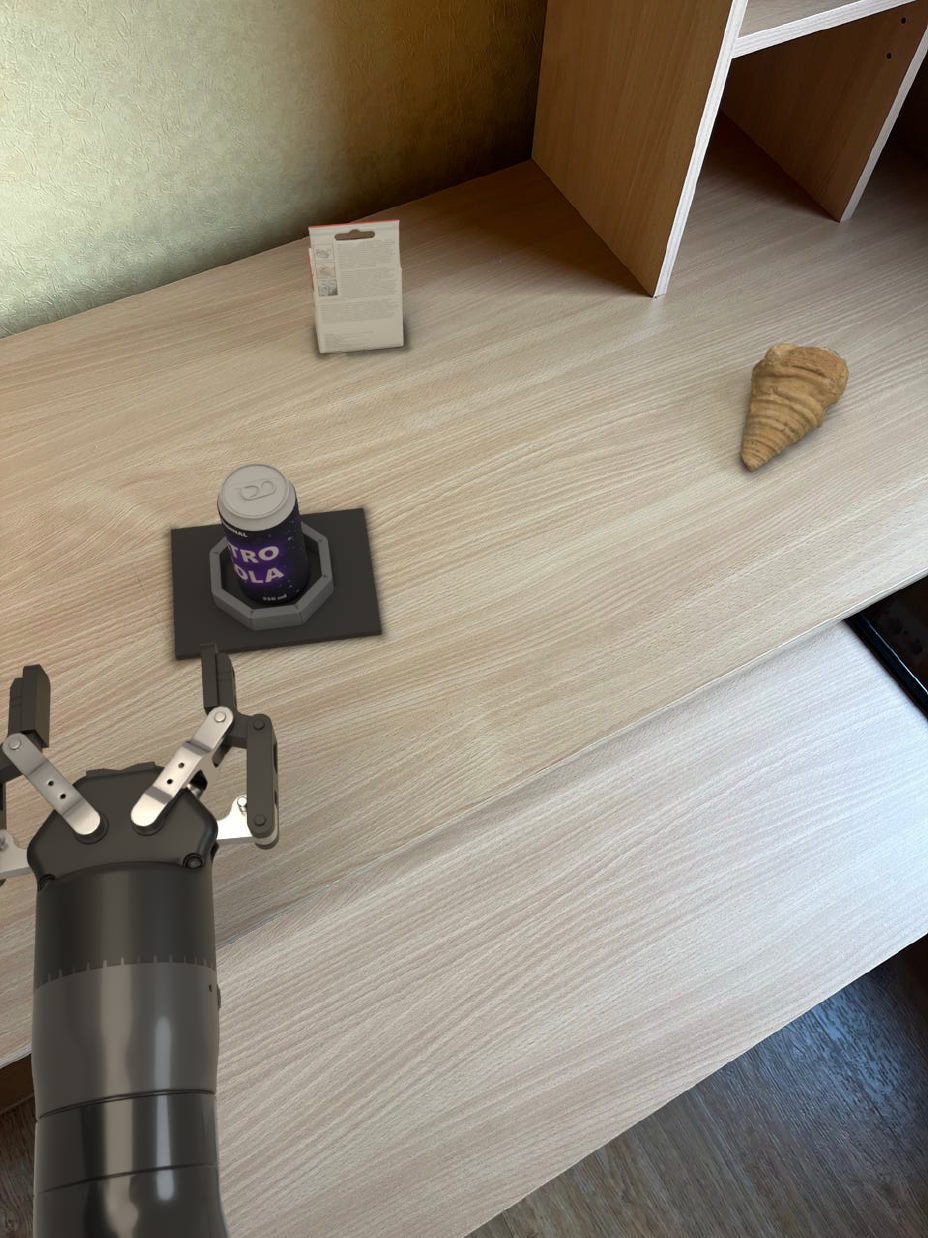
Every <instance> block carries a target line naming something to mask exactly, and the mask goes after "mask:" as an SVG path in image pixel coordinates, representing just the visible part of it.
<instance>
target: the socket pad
mask: <svg viewBox="0 0 928 1238" xmlns="http://www.w3.org/2000/svg"><path fill="white" fill-rule="evenodd" d="M365 516H366V515H365V509H364V507H357V508H347V509H340V510H339V509H337V510H331V511H322V512H313V513H305V514H300V519H301V525H302V531H303V537H304V543H305V549H306V555H307V561H308V568H309V576H308V580H307V583H306V585H305V586H304V588H303V589H302V590H301V591H300V592H299V593H298V594H297V595H296V596H295V597H293V598H291V599H289V600H287V601H284V602H281V603H275V604H267V603H261V602H258V601H255V600H253V599H251V598H249V597H248V596H247V595H246V594H245V593H244V592H243V591H242V590H241V588H240V586H239V583H238V580H237V576H236V573H235V569H234V566H233V562H232V558H231V555H230V551H229V548H228V544H227V541H226V537H225V533H224V530H223V526H222V523H215V524H207V525H206V524H205V525H197V526H189V527H180V528H171V529H170V545H171V546H170V548H171V551H170V552H171V575H172V576H171V578H172V579H171V580H172V603H173V607H172V608H173V626H174V627H173V631H174V656H175V658H176V660H177V661H182V660H189V659H190V660H191V659H198V658H199V659H200V658H201V644H209V643H216V646H217V649H218V652H219V653H223V652H226V653H227V655H230V654H237V653H244V652H252V651H253V652H254V651H260V650H268V649H269V650H270V649H276V648H285V647H293V646H300V645H308V644H309V645H310V644H317V643H325V642H332V641H340V640H348V639H356V638H357V639H358V638H365V637H373V636H380V635H382V625H381V618H380V612H379V606H378V598H377V591H376V585H375V578H374V570H373V565H372V564H373V563H372V556H371V551H370V550H371V549H370V543H369V538H368V537H369V536H368V530H367V522H366V517H365Z"/></svg>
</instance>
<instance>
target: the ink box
mask: <svg viewBox="0 0 928 1238" xmlns="http://www.w3.org/2000/svg"><path fill="white" fill-rule="evenodd" d="M307 229H308V234H309V240H310V247H308V252H307V253H308V263H309V264H308V265H309V275H310V282H311V294H312V302H313V311H314V321H315V330H316V338H317V344H318V351H319V354H322V355H323V354H339V353H349V352H350V353H351V352H359V351H361V352H362V351H372V350H382V349H392V348H397V347H398V348H399V347H400V348H401V347H404V342H405V341H404V313H403V311H404V305H403V303H404V301H403V267H402V262H401V253H400V219H388V220H387V219H386V220H374V221H363V222H350V223H349V222H348V223H336V224H326V225H325V224H324V225H312V226H311V225H310V226H308V227H307ZM353 230H357V231H358V232H360V233H363V232H364V233H365V232H373V233H374V234H373V235H369V236H360V237H349V238H348V237H346V238H335V236H336V235H339V234H341V235H342V234H349V233H350V232H351V231H353Z"/></svg>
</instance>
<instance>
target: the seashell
mask: <svg viewBox="0 0 928 1238" xmlns="http://www.w3.org/2000/svg"><path fill="white" fill-rule="evenodd" d="M849 375H850V371H849V368H848V364H847V361H846V359H845V357H844V356H843V355H842V354H840V353H839V352H838V351H836V350H832V349H831V348H829V346H824V347H821V346H819V347H818V346H805V345H802V346H799V345H796V344H794V343H791V344H790V343H785V342H784V343H783V342H782V343H780V344H777V345H774V346H772V347H770V348H768V350H767V351H766V353H765V354H764V358H762V359H760V360H759V361H758V362H757V363H756V364H755V365H754V366H753V367H752V370H751V378H750V382H751V383H750V388H751V389H750V390H751V391H750V393H751V395H750V398H749V405H748V413H747V416H746V419H745V425H744V426H743V436H742V441H741V446H740V447H741V448H740V450H739V453H740V457H741V459H742V461H743V463H744V464H745V465H746V467H747V468H748V470H749V472H753V471H755V470H757V469H759V468H760V467H761V466H763V465H766V464H767V463H768V462H769V461H771V459H772V458H773V457H776V456H779V455H780V454H781V453H783V452H784V451H785V450H786V448H787V447H789V446H791V445H794V444H795V443H796V442H800V441H801V440H802V439H803V437H804V435H806V434H808V433H812V432H814V431H816V429H820V428H822V427H823V426H824V419H825V415H826V413H827V410H828V408H829V407H830V406H833V405H836V404H838V403H839V400H840V398H841V397H842V396H843V395H844V392H845V390H846V388H847V384H848V380H849Z"/></svg>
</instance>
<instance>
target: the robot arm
mask: <svg viewBox="0 0 928 1238" xmlns="http://www.w3.org/2000/svg"><path fill="white" fill-rule="evenodd" d="M200 664H201V683H202V686H201V687H202V704H203V705H202V706H203V707H202V708H203V710H204V712H205V715H206V717H205V718H204V719H203V721H202V722H201V724H200V725H199V726H198V728H197V730H195V732H194V733H193V735H192V736H191V737H190V739H188V740H184V741H183V743H181V745H180V746H179V747H178V749H177V750H176V751H175V753H174V754H173V755H172V757H171V758H170V760H169V761H168V762H167V764H166V765H165V767H164V766H162V765H157V763H156V762H155V761H148V762H147V761H146V762H139V763H135V764H132V765H130V766H127V767H125V768H123V769H113V768H96V769H87V770H85V775H83V776H81V777H79V778H78V779H77V780H76V781H74V782H73V783H71V782H70V781H69V780H68V779H67V778H66V777H65V776H64V775H63V774H62V773H61V771H59V770H58V768H57V767H56V766H55V765H54V764H53V763H52V762H51V761H50V760H49V759H48V758H47V757H46V756H45V755H44V753H43V751H44V749H48V748H50V733H51V732H50V729H51V728H50V727H51V699H52V698H51V697H52V694H51V693H52V686H51V680H50V677H49V676H48V674H47V672H46V671H45V669H44V668H43V666H42V665H41V664H40V663H37V664H27V665H23V666H22V667H23V668H22V675H21V676H20V677H15V678H13V681H12V683H11V685H10V687H9V701H8V705H9V707H8V717H7V719H8V721H7V734H6V737H5V738H4V740H3V741H2V742H1V743H0V888H1V887H2V886H3V885H4V884H5V883H6V881H7V879H11V878H16V877H21V876H26V875H31V874H32V875H33V876H34V877H35V881H36V895H35V922H34V924H35V925H34V927H35V928H34V955H33V956H34V958H33V959H34V960H33V984H32V985H33V986H32V1013H31V1014H32V1015H31V1019H32V1020H31V1041H30V1042H31V1047H30V1050H31V1051H30V1052H31V1054H30V1055H31V1056H30V1057H31V1060H30V1062H31V1075H32V1082H33V1090H34V1103H35V1119H36V1121H37V1122H36V1123H35V1127H34V1128H35V1129H34V1161H33V1163H34V1164H33V1165H34V1166H33V1192H32V1193H33V1196H34V1197H32V1199H33V1200H32V1201H33V1204H32V1215H33V1216H32V1238H232V1235H231V1232H230V1229H229V1225H228V1222H227V1217H226V1213H225V1209H224V1205H223V1204H224V1203H223V1199H222V1190H221V1189H222V1188H221V1187H222V1186H221V1185H222V1184H221V1167H220V1163H221V1161H220V1144H219V1143H220V1142H219V1141H220V1140H219V1124H218V1123H219V1122H218V1120H219V1119H218V1102H217V1101H218V1099H217V1096H216V1095H217V1092H218V1086H217V1085H218V1083H217V1080H218V1064H219V1055H220V1039H221V1035H220V1033H221V1032H220V1030H221V1029H220V1027H221V1026H220V1010H221V1007H222V995H221V989H220V987H219V982H218V969H217V949H216V929H215V928H216V927H215V909H214V908H215V906H214V905H215V904H214V888H213V886H214V885H213V866H214V865H213V864H214V860H215V858H216V854H217V852H218V850H220V847H221V846H231V845H243V844H255V846H256V847H257V848H258V849H260V850H264V851H269V850H271V849H274V848H275V847H276V846H277V845H278V843H279V841H280V799H279V797H280V796H279V792H280V791H279V746H278V745H279V744H278V743H279V742H278V739H277V736H276V735H277V734H276V732H275V728H274V725H273V722H272V720H271V718H270V716H269V715H267V714H265V713H255V714H253V715H249V714H245V713H242V712H240V711H239V710H238V698H237V697H238V695H237V684H236V683H237V682H236V672H235V669H234V666H233V662H232V660H231V658H230V657H229V654H227V653H226V652H223V653H219V652H218V649H217V646H216V643H209V644H201V657H200ZM236 748H237V749H243V750H246V756H245V757H246V759H245V760H246V794H241V795H239V796H237V797H235V798H234V800H233V801H232V804H231V808H230V811H229V813H228V814H227V815H226V816H225V817H224V818H222V819H219V820H217V818H216V817H215V815H214V814H213V813H212V812H211V810H209V808H207V806H206V805H205V804H204V803H203V802H204V800H205V799H206V797H207V796H208V794H209V793H210V791H211V789H213V787H214V785H215V784H216V782H217V780H218V778H219V774H220V771H221V769H222V767H223V766H224V765H225V763H226V762H227V761H228V759H229V757H230V756H231V755H232V753H233V752H234V750H235V749H236ZM21 776H23V777H24V778H25V779H26V781H28V782H29V783H30V784H31V785H32V787H33V788H34V789H35V790H36V791H37V792H38V793H39V794H40V795H41V797H42V798H43V799H44V800H45V801H46V802H47V803H48V804H49V806H50V807H52V811H51V812H50V813H49V815H48V816H47V817H46V819H45V820H44V822H42V824H41V826H40V827H39V828H38V830H37V831H36V832H35V834H34V835H33V836H32V838H31V839H30V841H29V843H28V845H27V847H21V844H20V841H19V839H18V838H17V837H16V836H15V835H14V834H13V833H11V831H10V830H7V829H8V825H7V823H8V822H7V821H8V820H7V783H8V782H11V781H12V780H15V779H17V778H19V777H21Z"/></svg>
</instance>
